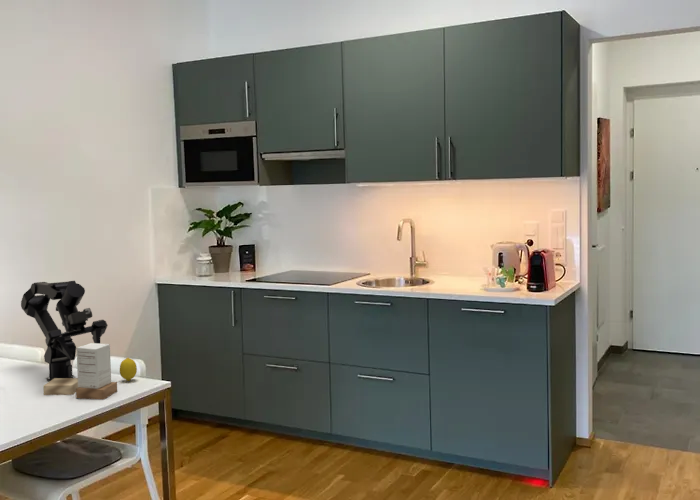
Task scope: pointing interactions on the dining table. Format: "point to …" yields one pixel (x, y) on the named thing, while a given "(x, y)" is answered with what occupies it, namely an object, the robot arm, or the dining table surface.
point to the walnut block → (97, 392)
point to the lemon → (128, 369)
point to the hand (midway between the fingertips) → (85, 354)
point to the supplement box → (93, 365)
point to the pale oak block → (61, 386)
